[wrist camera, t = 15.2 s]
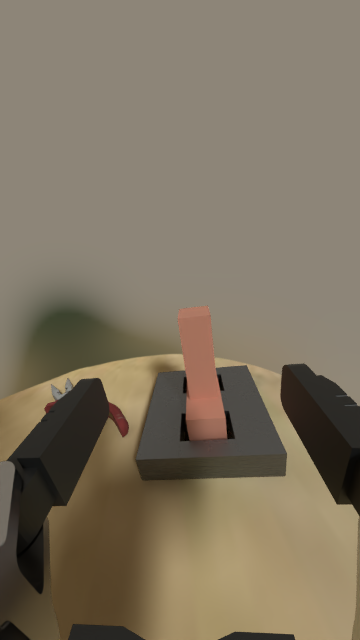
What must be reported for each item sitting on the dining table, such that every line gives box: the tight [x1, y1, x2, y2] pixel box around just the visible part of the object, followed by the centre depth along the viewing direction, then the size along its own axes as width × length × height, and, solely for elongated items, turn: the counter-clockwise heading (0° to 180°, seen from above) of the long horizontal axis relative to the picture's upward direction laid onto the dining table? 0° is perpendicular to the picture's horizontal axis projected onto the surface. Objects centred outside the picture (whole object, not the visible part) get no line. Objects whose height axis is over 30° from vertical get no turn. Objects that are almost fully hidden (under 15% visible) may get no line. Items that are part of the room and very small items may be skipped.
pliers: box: [45, 378, 129, 437], centre depth 30 cm, size 12×20×3 cm, turn 38°
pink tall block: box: [178, 306, 227, 441], centre depth 23 cm, size 4×9×15 cm, turn 177°
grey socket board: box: [136, 365, 287, 480], centre depth 25 cm, size 14×14×3 cm
